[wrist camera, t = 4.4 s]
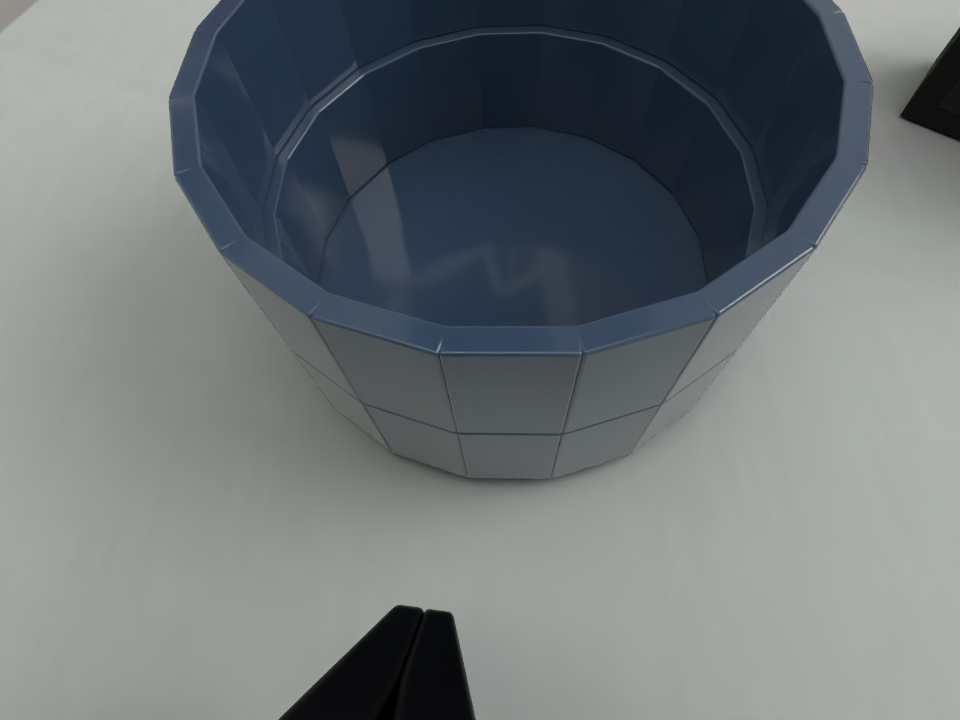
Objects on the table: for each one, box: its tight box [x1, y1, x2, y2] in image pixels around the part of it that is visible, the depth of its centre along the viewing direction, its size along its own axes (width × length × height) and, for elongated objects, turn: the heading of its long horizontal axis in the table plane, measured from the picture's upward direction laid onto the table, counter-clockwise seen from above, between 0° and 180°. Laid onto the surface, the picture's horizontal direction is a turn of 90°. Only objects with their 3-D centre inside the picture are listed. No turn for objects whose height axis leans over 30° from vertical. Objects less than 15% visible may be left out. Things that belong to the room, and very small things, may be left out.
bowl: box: [169, 0, 873, 479], centre depth 17 cm, size 15×15×8 cm
